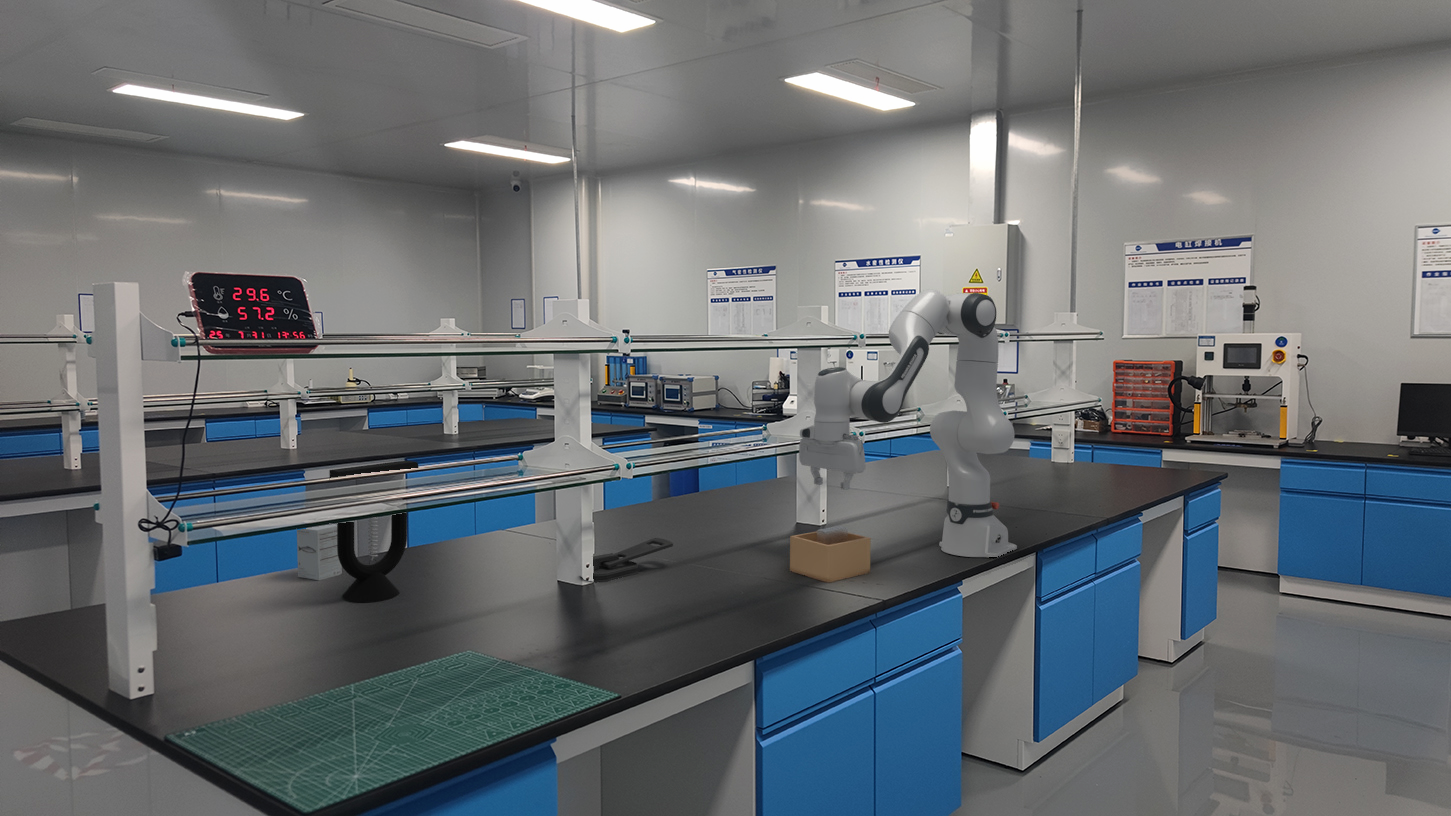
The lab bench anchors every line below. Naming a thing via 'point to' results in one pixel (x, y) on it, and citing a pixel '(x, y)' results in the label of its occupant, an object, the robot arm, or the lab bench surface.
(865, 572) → the open box
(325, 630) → the lab bench surface
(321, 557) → the supplement box
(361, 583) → the spring support
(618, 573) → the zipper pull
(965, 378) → the robot arm
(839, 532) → the aluminium bracket
